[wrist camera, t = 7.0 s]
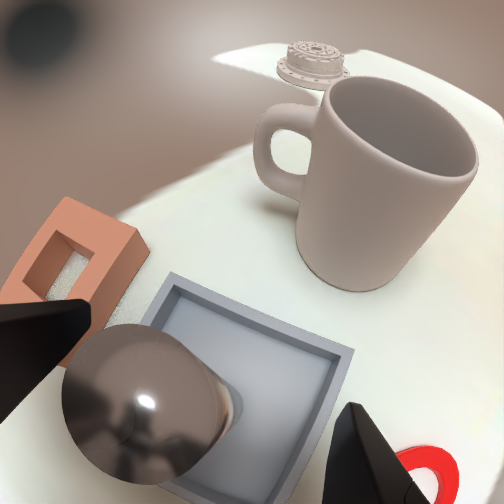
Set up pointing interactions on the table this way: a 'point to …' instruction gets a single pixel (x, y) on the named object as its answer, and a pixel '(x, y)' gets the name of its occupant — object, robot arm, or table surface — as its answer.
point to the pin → (145, 404)
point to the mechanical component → (312, 65)
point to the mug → (368, 176)
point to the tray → (252, 392)
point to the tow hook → (434, 469)
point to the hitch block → (90, 246)
